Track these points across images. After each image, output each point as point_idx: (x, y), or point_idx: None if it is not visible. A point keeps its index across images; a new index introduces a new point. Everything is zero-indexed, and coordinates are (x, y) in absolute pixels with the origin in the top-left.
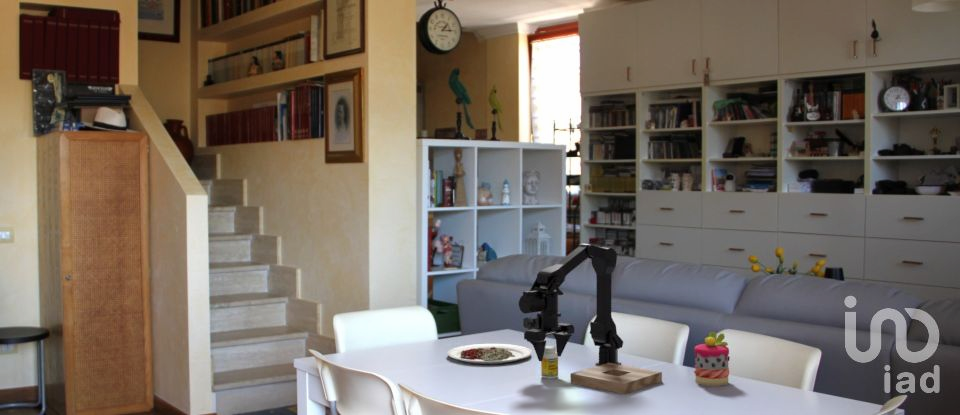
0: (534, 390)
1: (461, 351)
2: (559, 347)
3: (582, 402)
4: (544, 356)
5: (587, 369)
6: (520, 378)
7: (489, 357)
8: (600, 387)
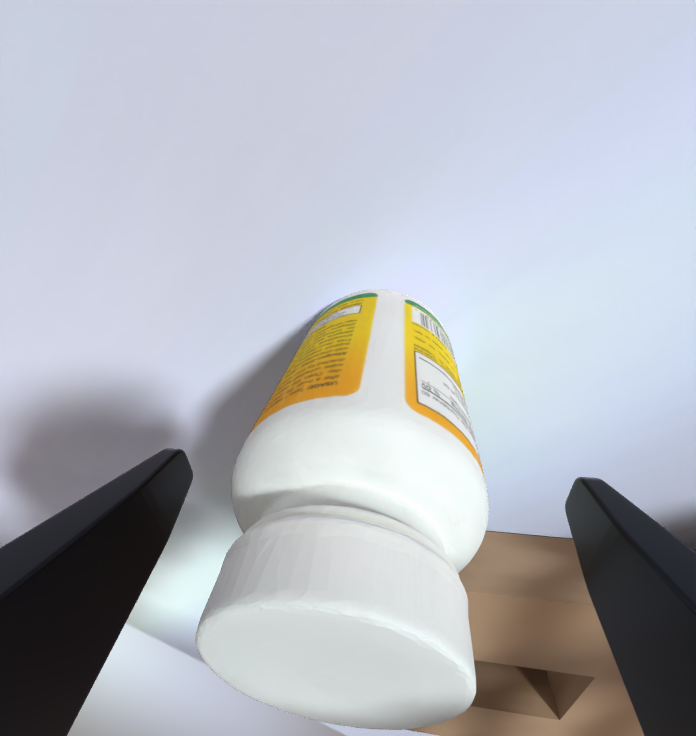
0: (86, 464)
1: None
2: (663, 667)
3: (170, 624)
4: (235, 509)
5: (502, 603)
6: (143, 188)
7: None
8: None
